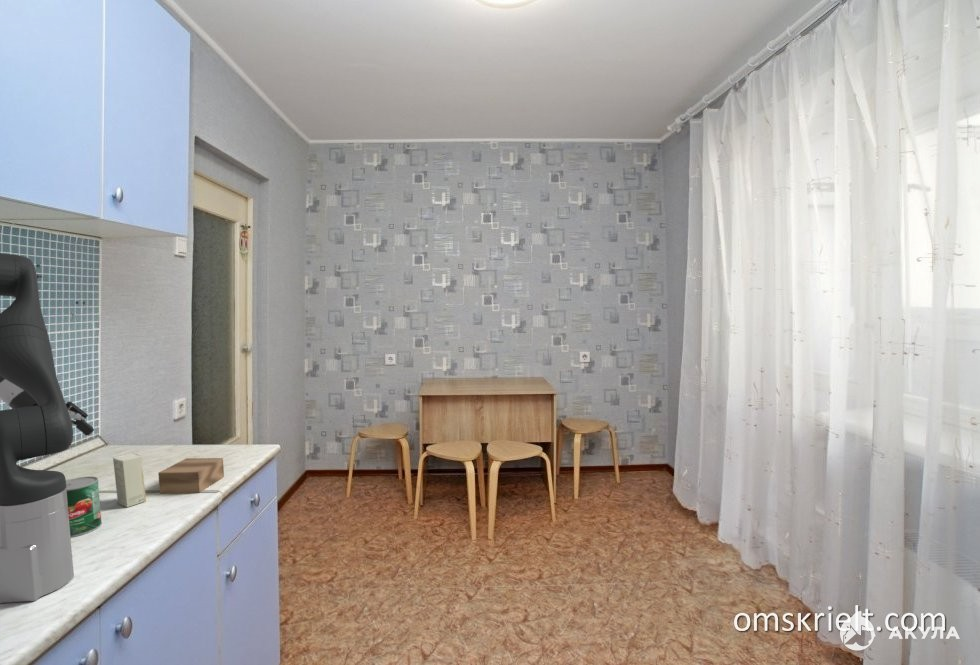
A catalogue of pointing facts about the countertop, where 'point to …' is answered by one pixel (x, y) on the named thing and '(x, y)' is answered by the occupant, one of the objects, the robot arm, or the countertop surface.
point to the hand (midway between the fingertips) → (77, 437)
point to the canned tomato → (83, 505)
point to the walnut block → (191, 475)
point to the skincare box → (129, 479)
